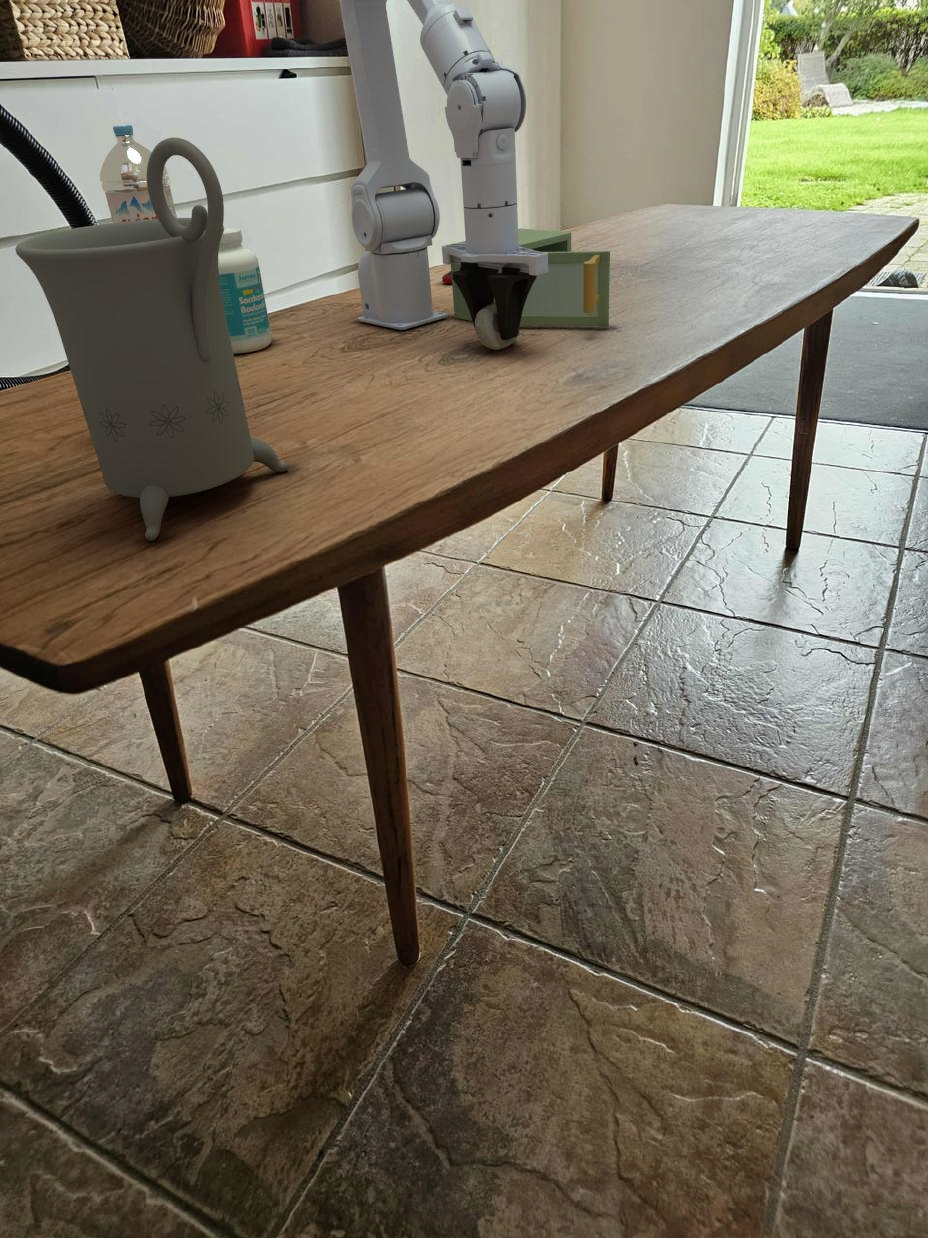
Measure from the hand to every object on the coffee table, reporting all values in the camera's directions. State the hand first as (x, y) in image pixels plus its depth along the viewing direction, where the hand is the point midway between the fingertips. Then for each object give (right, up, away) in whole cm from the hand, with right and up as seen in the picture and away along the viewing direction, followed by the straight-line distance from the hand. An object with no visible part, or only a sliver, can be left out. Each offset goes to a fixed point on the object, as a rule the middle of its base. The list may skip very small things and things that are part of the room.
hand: (496, 335), depth 99 cm
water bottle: (-37, -4, +2) cm, 37 cm away
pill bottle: (-31, +1, +10) cm, 33 cm away
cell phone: (-1, +22, +38) cm, 44 cm away
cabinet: (+3, +8, +16) cm, 18 cm away
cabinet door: (+7, +2, +5) cm, 9 cm away
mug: (-25, -23, -30) cm, 45 cm away
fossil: (0, -1, +1) cm, 2 cm away
